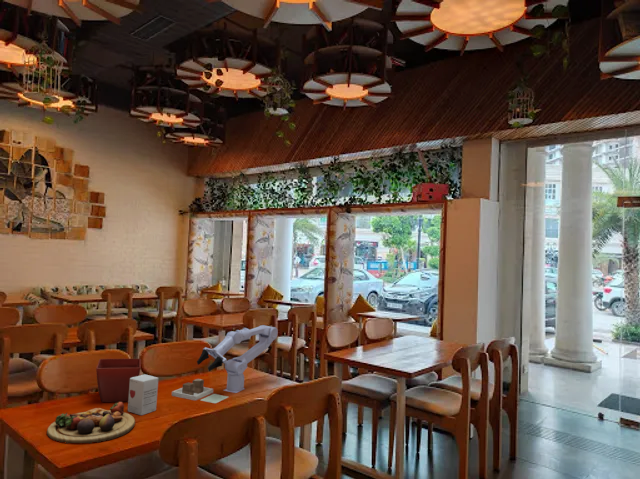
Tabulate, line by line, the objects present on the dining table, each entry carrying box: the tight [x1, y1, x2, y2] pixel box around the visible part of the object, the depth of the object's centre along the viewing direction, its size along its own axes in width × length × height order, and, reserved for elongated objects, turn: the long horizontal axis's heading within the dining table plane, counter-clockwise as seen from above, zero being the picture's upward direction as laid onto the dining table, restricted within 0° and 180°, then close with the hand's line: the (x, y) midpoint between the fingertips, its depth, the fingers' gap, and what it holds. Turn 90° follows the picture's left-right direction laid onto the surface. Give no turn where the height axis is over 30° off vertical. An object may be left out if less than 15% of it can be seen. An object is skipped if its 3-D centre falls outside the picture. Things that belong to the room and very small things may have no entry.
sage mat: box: [200, 393, 229, 404], centre depth 240 cm, size 12×9×1 cm
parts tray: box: [171, 386, 214, 401], centre depth 245 cm, size 15×14×2 cm
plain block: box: [181, 382, 194, 395], centre depth 241 cm, size 4×4×6 cm
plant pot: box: [95, 358, 142, 403], centre depth 234 cm, size 19×19×17 cm
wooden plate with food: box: [46, 401, 136, 444], centre depth 196 cm, size 32×32×8 cm
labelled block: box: [191, 378, 205, 394], centre depth 249 cm, size 4×4×6 cm
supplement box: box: [127, 374, 159, 416], centre depth 218 cm, size 9×9×15 cm
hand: (203, 366), depth 240 cm, fingers open, 7 cm apart
